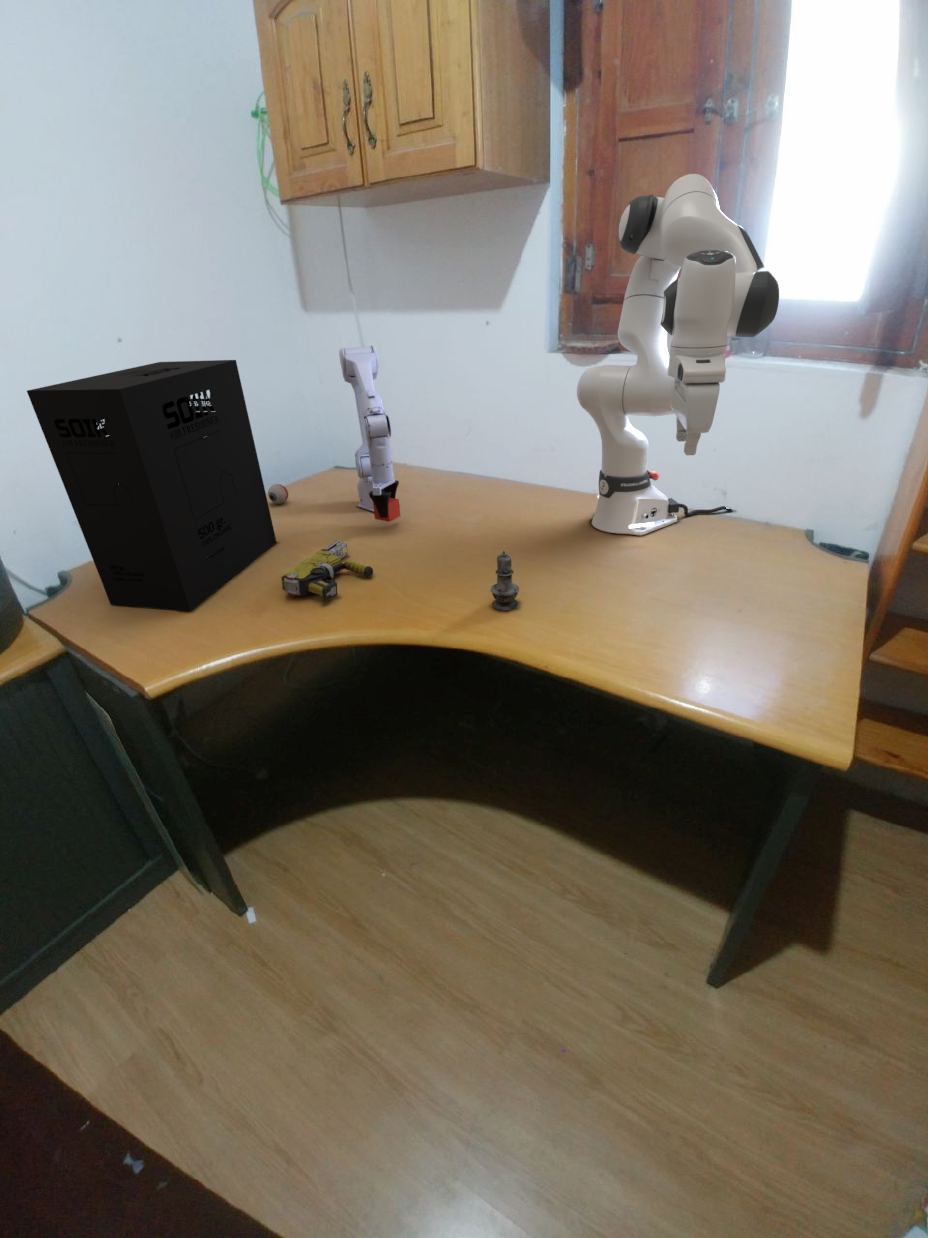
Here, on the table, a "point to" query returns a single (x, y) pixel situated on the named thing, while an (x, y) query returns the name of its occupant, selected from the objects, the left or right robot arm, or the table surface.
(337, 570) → the toy gun
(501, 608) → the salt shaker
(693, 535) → the table surface
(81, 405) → the cardboard box
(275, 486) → the eyeball
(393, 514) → the cube
